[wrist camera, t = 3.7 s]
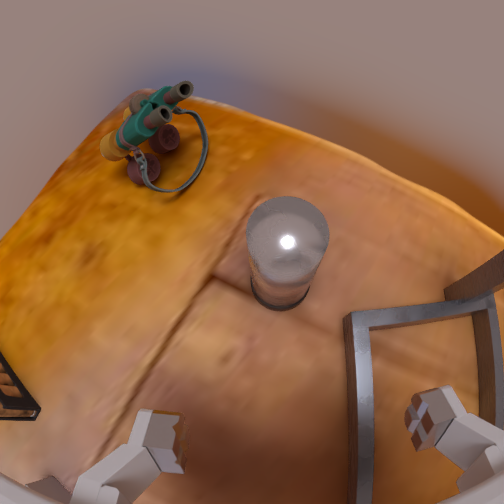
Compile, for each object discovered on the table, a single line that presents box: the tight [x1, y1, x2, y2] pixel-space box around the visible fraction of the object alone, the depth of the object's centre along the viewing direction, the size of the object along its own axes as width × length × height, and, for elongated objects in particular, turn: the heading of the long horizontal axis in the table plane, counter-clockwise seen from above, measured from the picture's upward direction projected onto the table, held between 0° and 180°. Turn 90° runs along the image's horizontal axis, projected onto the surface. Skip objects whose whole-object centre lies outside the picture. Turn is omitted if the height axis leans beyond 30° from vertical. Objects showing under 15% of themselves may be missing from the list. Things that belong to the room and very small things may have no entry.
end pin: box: [246, 196, 329, 311], centre depth 20 cm, size 5×5×9 cm
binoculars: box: [100, 81, 208, 192], centre depth 25 cm, size 9×9×10 cm
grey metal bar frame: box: [343, 250, 504, 504], centre depth 12 cm, size 14×18×16 cm
